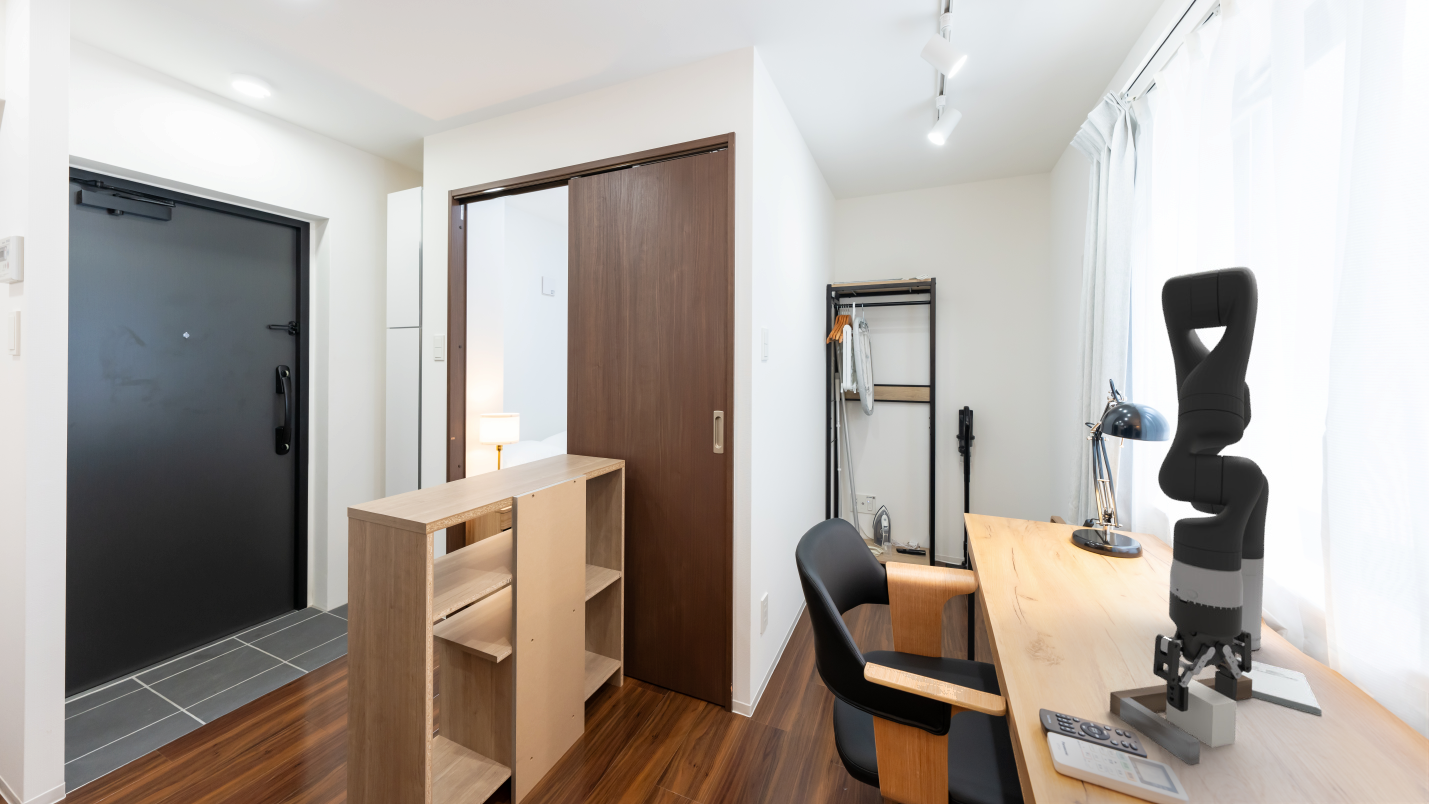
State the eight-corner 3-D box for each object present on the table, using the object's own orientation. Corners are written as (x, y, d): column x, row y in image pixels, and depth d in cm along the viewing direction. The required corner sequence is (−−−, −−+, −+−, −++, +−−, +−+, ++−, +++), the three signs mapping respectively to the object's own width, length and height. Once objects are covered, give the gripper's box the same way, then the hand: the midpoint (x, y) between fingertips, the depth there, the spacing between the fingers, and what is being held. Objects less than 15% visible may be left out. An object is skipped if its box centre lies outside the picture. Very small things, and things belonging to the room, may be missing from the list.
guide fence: (1109, 711, 78) (1110, 692, 78) (1239, 691, 83) (1240, 673, 83) (1189, 764, 67) (1190, 742, 67) (1333, 738, 72) (1334, 718, 72)
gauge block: (1166, 719, 77) (1167, 680, 76) (1187, 716, 77) (1189, 677, 77) (1211, 747, 71) (1213, 705, 70) (1234, 743, 71) (1236, 701, 71)
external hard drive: (1243, 697, 82) (1235, 664, 92) (1321, 719, 77) (1304, 681, 86) (1243, 687, 82) (1235, 655, 92) (1321, 708, 77) (1304, 672, 86)
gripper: (1214, 579, 78) (1211, 682, 79) (1137, 587, 75) (1134, 694, 76) (1277, 599, 71) (1272, 713, 72) (1193, 610, 68) (1189, 728, 69)
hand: (1201, 703), depth 74 cm, fingers open, 8 cm apart
